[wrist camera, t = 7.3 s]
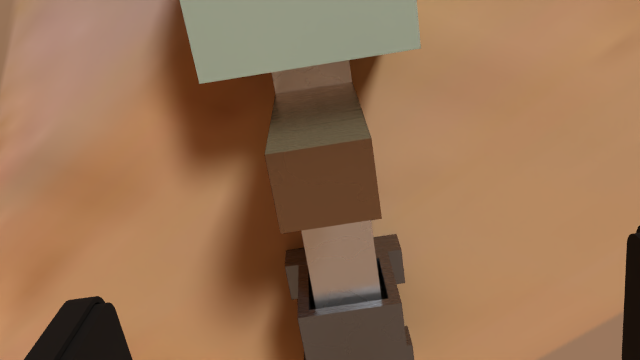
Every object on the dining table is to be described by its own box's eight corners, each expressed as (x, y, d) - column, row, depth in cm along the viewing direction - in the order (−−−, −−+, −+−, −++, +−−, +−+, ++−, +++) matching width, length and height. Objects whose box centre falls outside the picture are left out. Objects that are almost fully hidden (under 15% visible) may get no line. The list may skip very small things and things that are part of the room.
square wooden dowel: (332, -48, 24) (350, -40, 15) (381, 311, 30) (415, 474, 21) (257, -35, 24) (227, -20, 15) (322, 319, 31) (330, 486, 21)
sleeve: (396, 234, 32) (417, 300, 26) (410, 354, 35) (432, 438, 29) (285, 250, 32) (282, 320, 26) (309, 368, 35) (310, 454, 29)
